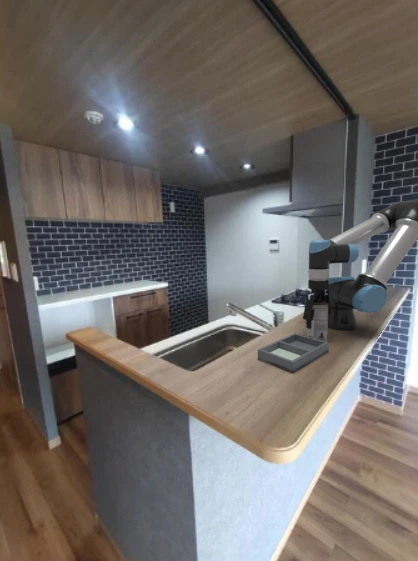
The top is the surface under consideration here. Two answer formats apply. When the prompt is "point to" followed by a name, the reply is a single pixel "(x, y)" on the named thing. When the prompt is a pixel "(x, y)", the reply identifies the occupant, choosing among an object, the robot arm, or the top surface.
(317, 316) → the coffee box
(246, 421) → the top surface
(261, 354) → the compartment tray
